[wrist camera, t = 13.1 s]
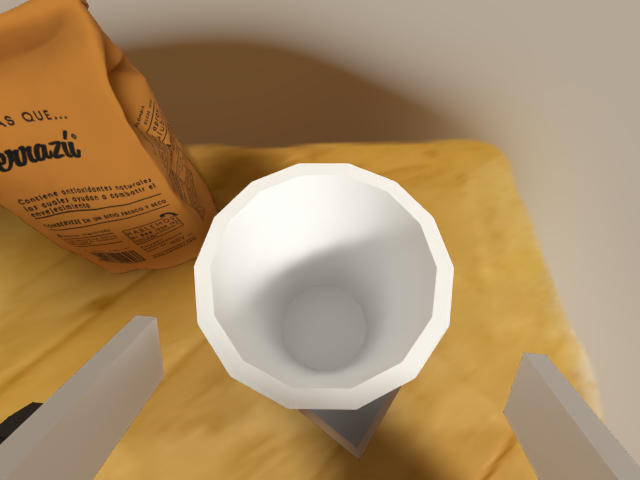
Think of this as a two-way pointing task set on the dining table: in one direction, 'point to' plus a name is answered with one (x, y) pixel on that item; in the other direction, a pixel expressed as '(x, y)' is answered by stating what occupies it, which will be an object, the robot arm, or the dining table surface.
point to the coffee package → (92, 145)
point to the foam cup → (323, 286)
